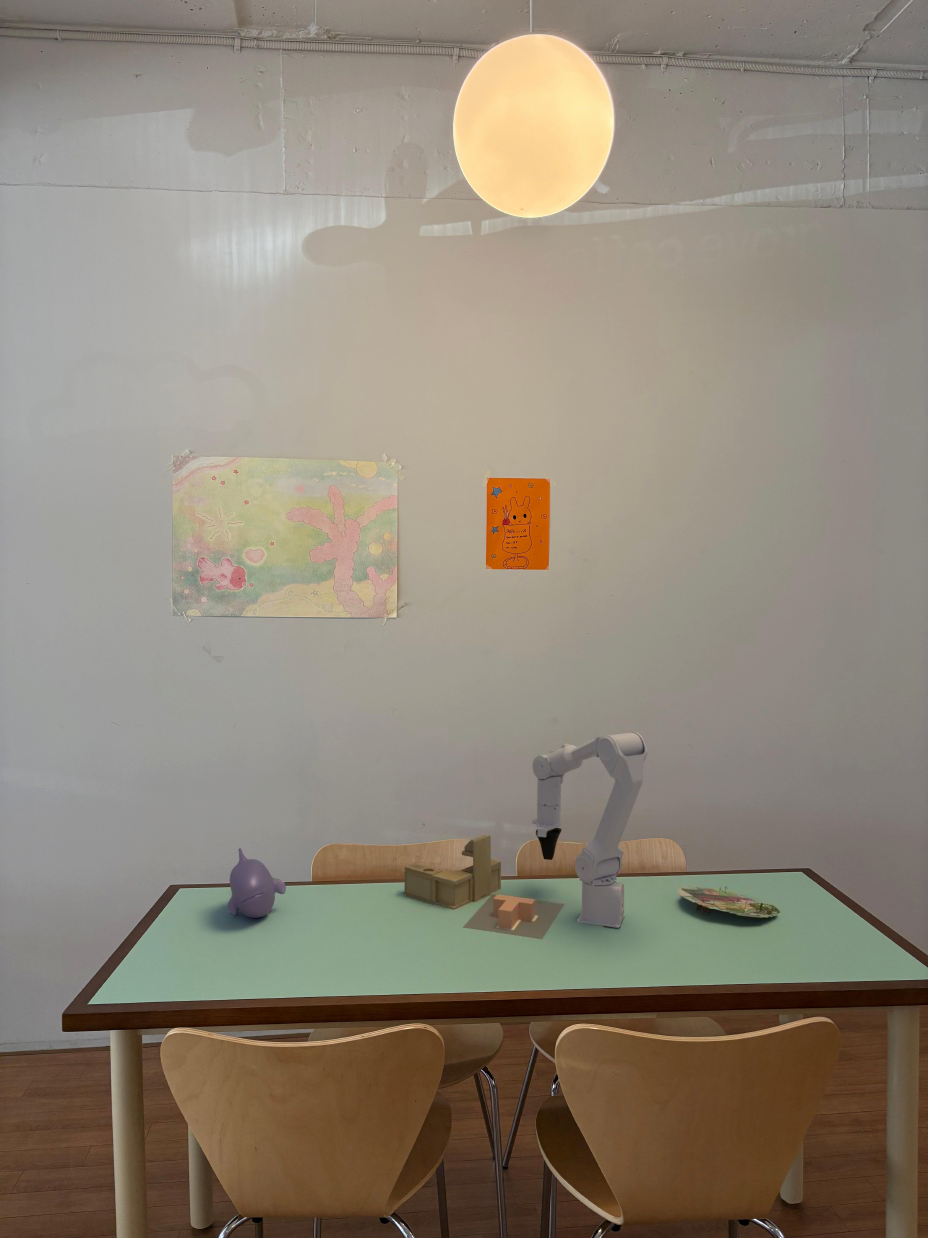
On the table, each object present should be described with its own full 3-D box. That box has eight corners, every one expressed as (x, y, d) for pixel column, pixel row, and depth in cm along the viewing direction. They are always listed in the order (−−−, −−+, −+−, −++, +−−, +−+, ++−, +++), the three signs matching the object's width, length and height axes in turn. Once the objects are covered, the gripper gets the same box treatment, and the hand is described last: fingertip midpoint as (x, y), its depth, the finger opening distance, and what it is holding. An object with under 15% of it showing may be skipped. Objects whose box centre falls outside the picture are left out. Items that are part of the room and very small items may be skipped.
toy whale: (231, 938, 178) (205, 868, 179) (237, 914, 202) (215, 853, 203) (291, 911, 181) (266, 843, 182) (291, 891, 205) (268, 831, 206)
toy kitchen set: (451, 877, 218) (452, 820, 218) (503, 891, 207) (504, 831, 207) (403, 896, 204) (404, 835, 203) (456, 912, 193) (457, 848, 193)
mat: (564, 905, 198) (564, 904, 198) (542, 940, 177) (542, 939, 177) (492, 895, 204) (492, 894, 204) (462, 928, 183) (462, 927, 183)
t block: (534, 917, 189) (535, 899, 189) (524, 931, 181) (524, 913, 181) (497, 911, 192) (497, 894, 192) (485, 925, 184) (485, 907, 184)
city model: (804, 925, 193) (806, 898, 193) (741, 934, 180) (743, 906, 180) (716, 895, 214) (718, 871, 214) (654, 902, 200) (656, 876, 201)
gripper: (540, 795, 211) (539, 849, 211) (525, 809, 197) (524, 865, 197) (567, 798, 209) (566, 852, 209) (554, 811, 195) (553, 869, 195)
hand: (548, 859), depth 203 cm, fingers closed
